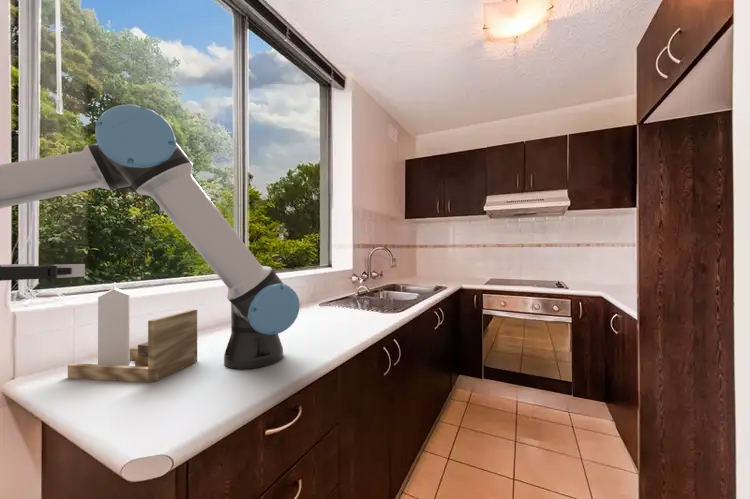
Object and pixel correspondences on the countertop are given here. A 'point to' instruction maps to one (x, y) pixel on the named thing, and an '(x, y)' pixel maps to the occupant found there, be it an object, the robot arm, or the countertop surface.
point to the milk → (114, 327)
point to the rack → (152, 352)
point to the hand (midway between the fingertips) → (57, 269)
